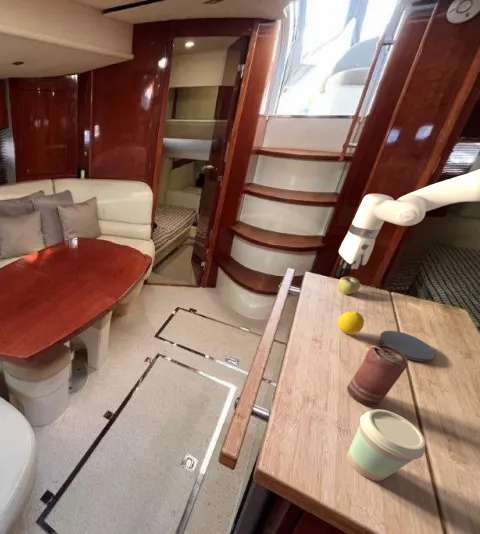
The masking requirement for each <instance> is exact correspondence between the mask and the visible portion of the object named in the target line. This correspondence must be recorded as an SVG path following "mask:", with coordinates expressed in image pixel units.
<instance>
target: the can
mask: <svg viewBox="0 0 480 534" xmlns="http://www.w3.org/2000/svg"><path fill="white" fill-rule="evenodd" d="M408 360H409V359H407V358H406V357H405V355H403V354H402V353H401V352H399V351H397V350H396V349H393V348H391V347H387V346H384V345H383V344H380V345H372V346H370V347H369V349H368V350H367V351H366V353H365V357H364V359H363V361H362V362H361V364H360V366H359V367H358V369H357V371H356V372H355V374H354V375H353V377H352V378H351V380H350V381H349V383H348V385H347V387H346V389H347V393H348V394H349V396H350V397H351V398H352V399H353V400H354V401H356V402H357V403H359V404H361V405H364V406H368V407H375V406H376V407H377V406H379V405H380V404H381V402H382V401H383V400H384V399H385V397H386V396H387V394H389V392H390V391H391V389H392V388H393V386H394V385H395V384H396V382H398V380H399V378H400V377H401V376H402V374H403V373H404V372H405V370H406V369H407V368H408Z"/></svg>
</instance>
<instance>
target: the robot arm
mask: <svg viewBox="0 0 480 534" xmlns="http://www.w3.org/2000/svg"><path fill="white" fill-rule="evenodd" d="M464 202H465V203H466V202H480V168H479V169H476V170H473V171H470V172H467V173H465V174H462V175H458V176H455V177H452V178H449V179H445V180H442V181H439V182H436V183H433V184H429V185H427V186H425V187H422V188H420V189H417V190H414V191H412V192H409V193H407V194H405V195H402V196H400V197H399V198H396V200H395V199H394V197H392V196H390V195H387V194H382V193H368V194H366V195H365V196H364V197H363V198H362V201H361V203H360V204H359V207H358V208H357V211H356V213H355V216H354V218H353V220H352V223H351V224H350V227H349V229H348V230H347V234H346V235H345V237H344V238H343V240H342V242H341V244H340V246H339V249H338V254H339V256H340V258H341V259H340V262H339V266H338V268H337V270H336V272H335V276H337V277H338V278H343V277H350V275H351V272H352V270H358V269H359V267H360V265H361V266H366V264H367V263H368V261H369V260H370V256H371V255H372V252H373V249H374V246H375V243H376V238H377V236H378V234H379V233H380V230H382V226H383V224H384V223H385V222H387V223H390V224H394V225H396V226H402V227H409V226H411V227H412V226H415V225H417V224H419V223H420V222H422V221H423V220H424V218H425V216H426V213H427V212H429V211H432V210H436V209H438V208H441V207H445V206H449V205H452V204H457V203H464Z"/></svg>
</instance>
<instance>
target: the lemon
mask: <svg viewBox="0 0 480 534" xmlns="http://www.w3.org/2000/svg"><path fill="white" fill-rule="evenodd" d="M364 324H365V319H364V317H363V316H362V315H361V314H360V313H359V312H358V311H352V310H350V311H345V312H343V313H342V314H341V315H340V316H339V318H338V319H337V327H338V329H339V330H340V331H341V332H343V334H345V335H346V334H348V335H355V334H357V333H359V332H360V331H362V329H363V327H364Z"/></svg>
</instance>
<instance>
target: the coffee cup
mask: <svg viewBox="0 0 480 534" xmlns="http://www.w3.org/2000/svg"><path fill="white" fill-rule="evenodd" d="M359 423H360V424H359V426H358V428H357V430H356V433H355V435H354V437H353V440H352V441H351V444H350V447H349V449H348V451H347V454H346V456H347V457H346V458H347V461H348V463H349V464H350V466H351V467H352V468H353V469H354V470H355V471H356V472H357V473H358V474H360V475H361V476H363V477H365V478H367V479H369V480H371V481H375V482H381V481H383V480H385V479H386V478H388V477H390V476H391V475H393V474H394V473H396V472H397V471H399V470H400V469H402V468H403V467H405V466H406V465H408V464H409V463H410V462H412V461H413V460H419V459H421V458H422V457H423V456H424V454H425V451H426V439H425V437H424V435H423V434H422V432H421V431H420V429H418V428H417V426H415V425H414V423H412V422H411V421H409V420H407V418H404V417H403V416H401V415H399V414H397V413H395V412H393V411H389V410H387V409H386V410H385V409H379V408H378V409H376V408H375V409H372V410H370V411H366V412H365V413H364V414H362V415H361V416H360V418H359Z"/></svg>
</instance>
